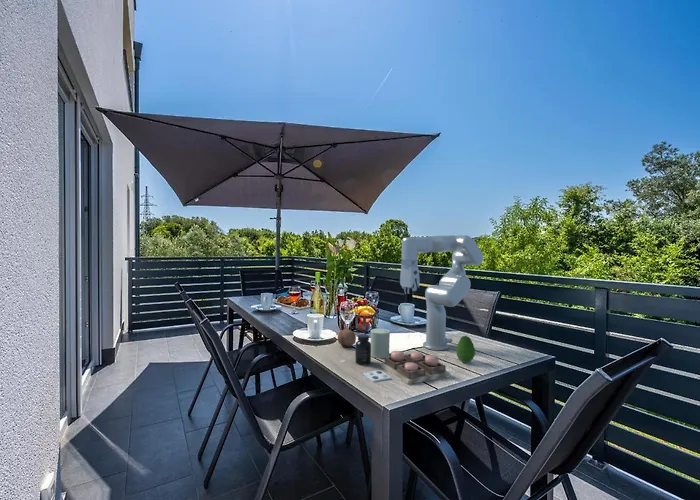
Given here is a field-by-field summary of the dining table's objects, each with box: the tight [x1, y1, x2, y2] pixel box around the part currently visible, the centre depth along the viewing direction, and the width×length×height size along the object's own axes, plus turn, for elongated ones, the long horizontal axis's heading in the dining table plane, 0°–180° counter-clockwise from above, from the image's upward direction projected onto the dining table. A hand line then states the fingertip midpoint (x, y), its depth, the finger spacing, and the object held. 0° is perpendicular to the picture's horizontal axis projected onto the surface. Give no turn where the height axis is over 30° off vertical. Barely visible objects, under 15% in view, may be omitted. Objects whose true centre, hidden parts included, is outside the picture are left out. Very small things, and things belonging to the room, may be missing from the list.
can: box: [370, 327, 391, 359], centre depth 160 cm, size 9×9×12 cm
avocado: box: [455, 335, 476, 364], centre depth 152 cm, size 8×8×12 cm
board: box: [380, 353, 450, 385], centre depth 140 cm, size 20×20×4 cm
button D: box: [405, 362, 418, 371], centre depth 134 cm, size 5×5×3 cm
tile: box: [363, 369, 392, 383], centre depth 134 cm, size 8×8×1 cm
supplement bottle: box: [354, 333, 372, 366], centre depth 149 cm, size 7×7×12 cm
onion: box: [337, 327, 357, 348], centre depth 172 cm, size 10×9×10 cm
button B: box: [425, 354, 439, 366], centre depth 138 cm, size 5×5×3 cm
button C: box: [390, 350, 405, 361], centre depth 143 cm, size 5×5×3 cm
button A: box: [410, 351, 424, 360], centre depth 147 cm, size 5×5×3 cm
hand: (408, 301), depth 161 cm, fingers closed
